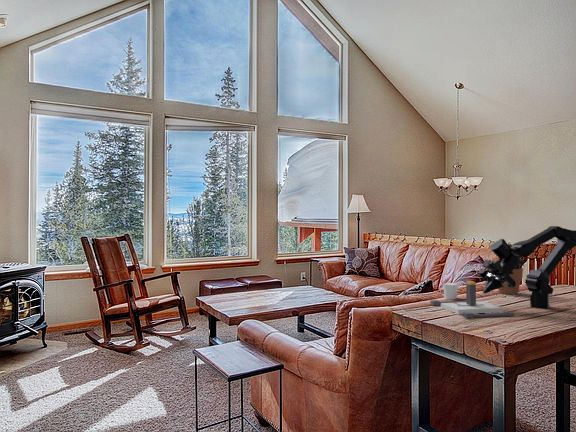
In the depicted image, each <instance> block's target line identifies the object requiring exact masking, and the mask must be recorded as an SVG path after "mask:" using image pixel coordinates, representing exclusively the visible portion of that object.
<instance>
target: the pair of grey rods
mask: <svg viewBox="0 0 576 432" xmlns="http://www.w3.org/2000/svg"><path fill="white" fill-rule="evenodd" d="M452 302H455V303H457V302H466V300H452V301H451V300H450V301H449V300H448V301H440V300H438V299H431V300H430V305H431V306H433V305H439V306H441V303H452ZM498 316H500V317H514V316H515V313H514V312H509V311H508V312H503V313H485V314H473V313H471V312H463V315H462V318H463V317H465V318H464V319H467V318H473V319H475V318H477V319H479V318H497V317H498ZM478 317H479V318H478ZM467 320H468V319H467Z"/></svg>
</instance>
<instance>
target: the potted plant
mask: <svg viewBox="0 0 576 432" xmlns="http://www.w3.org/2000/svg"><path fill="white" fill-rule="evenodd" d="M508 245H509V244H508ZM512 245H513V244H510V245H509V246H512ZM518 257H519V259H521V257H520V256H518ZM502 260H503V259H499V258H498V261H500V262H501V261H502ZM512 272H513V274H512V275H510V274H509V275H510V276H511V277H512V278H513V279H514V280H515V281H516V286H515V287H514V288H510V287H508V283H507V282H506V283H504V284H503V286H504V287H501V288H498V289H497V291H498V293H499V294H502V295H508V296H509V294H515V295H518V294H519V290H520V285H521V280H522V279H523V277H524V276H523V275H524V268H523V267H520V265H517V266H516V267H515V269H514V270H513V271H512Z"/></svg>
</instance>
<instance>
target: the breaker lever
mask: <svg viewBox="0 0 576 432" xmlns="http://www.w3.org/2000/svg"><path fill="white" fill-rule="evenodd" d="M465 283H466V284H465V287H466V288H465V292H466V293H465V294H466V297H465V301H466V304H468V305H476V302H477V295H476V294H477V292H476V291H477V289H476V287H477V285H476V283H477V282H475V281H473V280H467V281H465Z"/></svg>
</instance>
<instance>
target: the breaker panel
mask: <svg viewBox="0 0 576 432" xmlns="http://www.w3.org/2000/svg"><path fill="white" fill-rule="evenodd" d="M441 307H442V308H441ZM440 308H441V309H443V308H444V309H443V310H445V309H447V310H446V311H448V310H449V311H448V312H450V311H452V312H451V313H453V312H455V313H458V314H463V312H471V313H473V314H475V313H485V314H486V313H490V312H503V313H504V307H503V306H498V305H496V304H492V303H489V302H486V301H484V300H483V301H476V305H468V304H466V302H457V303H455V302H452V303H441V305H440ZM455 313H454V314H455ZM458 314H457V315H458Z"/></svg>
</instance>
